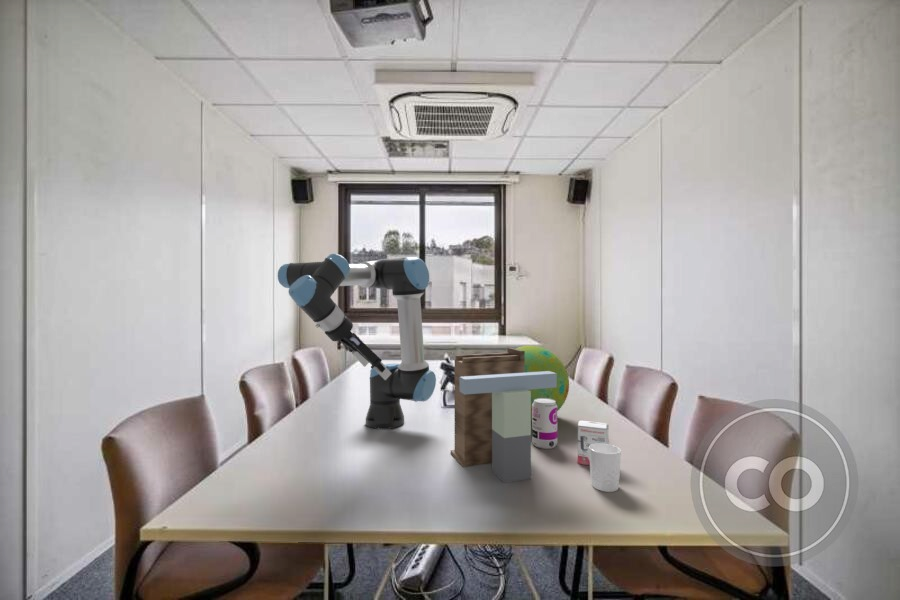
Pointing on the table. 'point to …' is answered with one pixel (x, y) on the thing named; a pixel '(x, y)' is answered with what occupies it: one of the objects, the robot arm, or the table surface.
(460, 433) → the stand
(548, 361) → the globe
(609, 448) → the white cup
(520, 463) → the lower block
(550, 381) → the pale blue bar
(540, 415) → the supplement can
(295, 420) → the table surface
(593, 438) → the ink box
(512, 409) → the upper block
